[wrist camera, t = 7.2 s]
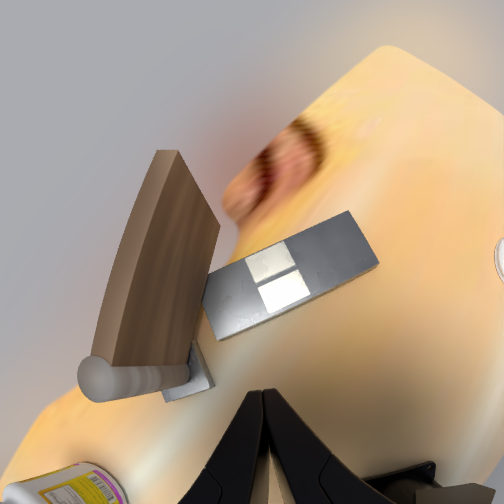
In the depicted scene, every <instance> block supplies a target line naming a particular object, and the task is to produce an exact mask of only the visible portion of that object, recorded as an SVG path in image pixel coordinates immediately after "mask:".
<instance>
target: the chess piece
mask: <svg viewBox="0 0 504 504" xmlns="http://www.w3.org/2000/svg"><path fill="white" fill-rule="evenodd" d="M494 257H495V265H496V269H497V272H498V274H499V276H500V278H501V280H502V281H503V282H504V238H502V239H501V240H499V242H498V243H497V245H496V248H495V255H494Z"/></svg>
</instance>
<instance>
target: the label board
mask: <svg viewBox="0 0 504 504" xmlns="http://www.w3.org/2000/svg"><path fill="white" fill-rule="evenodd" d="M378 264H379V261H378V259H377V258H376V256H375V254H374V252H373V250H372V249H371V247H370V245H369V244H368V242H367V240H366V238H365V237H364V235H363V233H362V232H361V230H360V228H359V227H358V225H357V223H356V222H355V220H354V218H353V217H352V215H351V214H350V212H349V210H348V211H345V212H343V213H341V214H339V215H337V216H335V217H332V218H330V219H328V220H326V221H324V222H321V223H319V224H317V225H315V226H313V227H310V228H308V229H306V230H304V231H302V232H300V233H297V234H295V235H293V236H291V237H289V238H286V239H284V240H282V241H280V242H278V243H275V244H273V245H271V246H269V247H267V248H264V249H262V250H260V251H258V252H256V253H254V254H251V255H249V256H247V257H245V258H243V259H240V260H238V261H236V262H234V263H232V264H229V265H227V266H225V267H223V268H221V269H218V270H216V271H214V272H212V273H210V274H208V276H207V280H206V284H205V288H204V292H203V296H202V300H201V302H202V305H203V307H204V310H205V312H206V315H207V318H208V320H209V323H210V325H211V328H212V330H213V333H214V335H215V338H216V340H217V341H222V340H225V339H227V338H230V337H232V336H234V335H237V334H239V333H241V332H244V331H246V330H248V329H251V328H253V327H255V326H257V325H260V324H262V323H264V322H266V321H269V320H271V319H273V318H275V317H278V316H280V315H282V314H284V313H286V312H288V311H290V310H293V309H295V308H297V307H299V306H301V305H303V304H305V303H307V302H309V301H311V300H314V299H316V298H318V297H320V296H322V295H324V294H326V293H328V292H330V291H332V290H334V289H336V288H338V287H340V286H342V285H344V284H346V283H348V282H349V281H351V280H353V279H355V278H357V277H359V276H361V275H363V274H365V273H367V272H368V271H370V270H372V269H374V268H376V267H377V265H378ZM187 365H188V367H189V370H190V377H189V380H188V381H187V383H186V384H184V385H182V386H179V387H175V388H171V389H166V390H162V391H161V392H162V394H163V397H164V399H165V402H170V401H173V400H176V399H179V398H182V397H185V396H188V395H191V394H194V393H197V392H200V391H203V390H206V389H209V388H211V387H214V386H215V385H214V383H213V380H212V378H211V376H210V373H209V371H208V368H207V366H206V364H205V361H204V359H203V356H202V354H201V351H200V349H199V346H198V343H197V341H194V340H192V342H191V347H190V351H189V355H188V360H187Z"/></svg>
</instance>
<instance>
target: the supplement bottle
mask: <svg viewBox="0 0 504 504" xmlns="http://www.w3.org/2000/svg"><path fill="white" fill-rule="evenodd" d="M0 504H127V502H126V498H125V496H124V493H123V491H122V490H121V488H120V486H119V485H118V484H117V482H116V481H115V480H114V479H113V478H112V477H111V476H110V475H109V474H108V473H107V472H105V471H104V470H102V469H101V468H99V467H97V466H95V465H93V464H89V463H77V464H74V465H71V466H68V467H65V468H62V469H59V470H56V471H53V472H50V473H47V474H44V475H40V476H37V477H34V478H30V479H27V480H23V481H19V482H15V483H11V484H9V485H7V486H6V487H5V489H4V491H3V502H0Z"/></svg>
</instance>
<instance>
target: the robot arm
mask: <svg viewBox="0 0 504 504" xmlns="http://www.w3.org/2000/svg"><path fill="white" fill-rule="evenodd" d="M269 448H270V451H269ZM270 454H271V458H272V462H273V465H274V469H275V472H276V476H277V479H278V483H279V486H280V490H281V493H282V497H283V500H284V504H491V502H492V500H493V497H494V495H495V492H496V491H495V489H492V488H488V487H485V486H482V485H479V484H476V483H469V484H463V485H457V486H450V487H442V486H441V485H440V484H438V483H437V482H436V481H435V480H434V477H435V469H436V464H435V463H434V462H433V461H428V462H425V463H422V464H419V465H416V466H413V467H409V468H406V469H403V470H399V471H395V472H391V473H387V474H383V475H379V476H375V477H370V478H365V479H360V478H359V477H358V476H356V475H355V474H354V473H353V472H351V471H350V470H349V469H348V468H347V467H346V466H345V465H344V464H343V463H342V462H341V461H340V460H339V459H338V458H337V457H336V456H335V455H334V454H332V452H331V451H330V449H329V448H328V447H327V446H326V445H325V444H324V443H323V442H322V441H321V440H320V439H319V437H318V436H317V435H316V434H315V433H314V432H313V431H312V430H311V429H310V427H309V426H308V425H307V424H306V423H305V422H304V421H303V420H302V418H301V417H300V416H299V415H298V414H297V413H296V412H295V410H294V409H293V408H292V407H291V406H290V405H289V403H288V402H287V401H286V400H285V399H284V397H283V396H282V395H281V394H280V393H279V392H278V390H277V389H275V388H271V389H264V390H263V391H261V390H255V391H249V392H248V393H247V395H246V396H245V398H244V400H243V402H242V404H241V405H240V407H239V409H238V411H237V413H236V414H235V416H234V418H233V420H232V421H231V423H230V425H229V427H228V428H227V430H226V432H225V433H224V435H223V437H222V439H221V440H220V442H219V444H218V445H217V447H216V449H215V450H214V452H213V454H212V455H211V457H210V459H209V460H208V462H207V463H206V465H205V468H203V470H202V471H201V473H200V475H199V476H198V478H197V479H196V481H195V482H194V483H193V485H192V486H191V488H190V489H189V490H188V492H187V493H186V494H185V495H184V496H183V498H182V499H181V500H180V501H179V502H178V503H177V504H268V491H269V465H270ZM430 465H431V467H430V468H429V469H428V467H429V466H430Z"/></svg>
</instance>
